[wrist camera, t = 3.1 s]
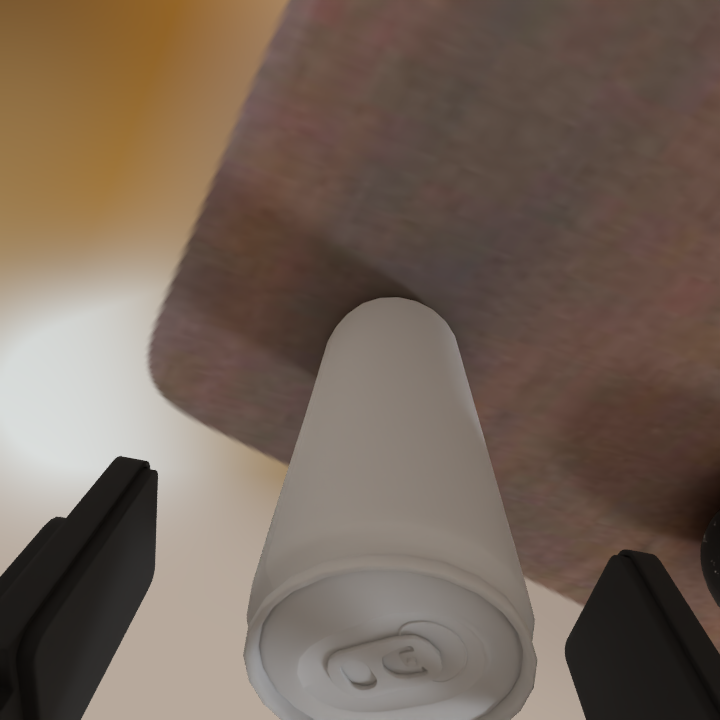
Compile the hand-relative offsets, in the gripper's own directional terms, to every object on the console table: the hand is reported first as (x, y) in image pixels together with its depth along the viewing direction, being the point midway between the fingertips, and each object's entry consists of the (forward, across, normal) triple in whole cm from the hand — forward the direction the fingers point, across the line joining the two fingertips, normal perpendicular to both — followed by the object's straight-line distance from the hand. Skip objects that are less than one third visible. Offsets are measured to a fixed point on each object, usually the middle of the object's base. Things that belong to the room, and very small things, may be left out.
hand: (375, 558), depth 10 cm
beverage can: (+10, 0, 0) cm, 10 cm away
